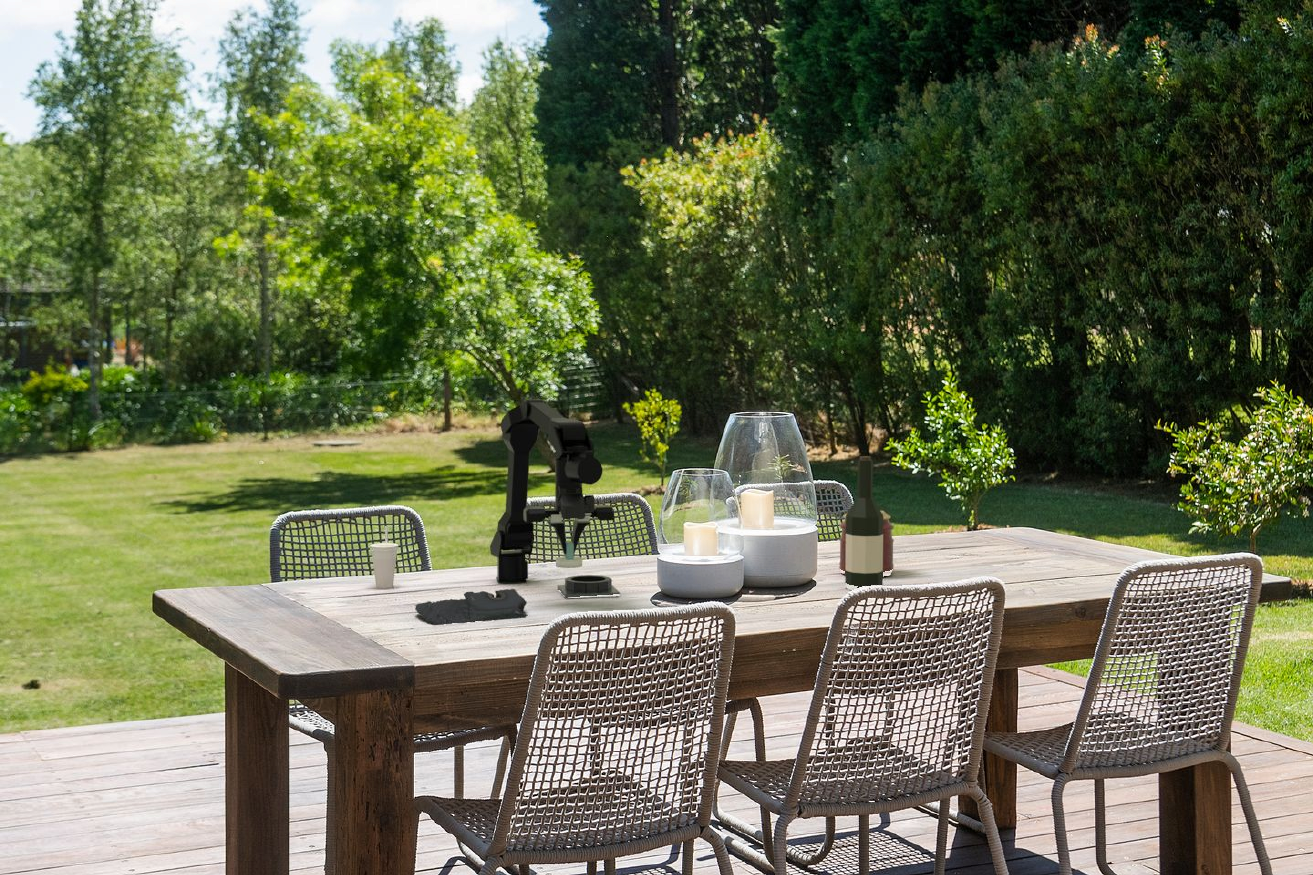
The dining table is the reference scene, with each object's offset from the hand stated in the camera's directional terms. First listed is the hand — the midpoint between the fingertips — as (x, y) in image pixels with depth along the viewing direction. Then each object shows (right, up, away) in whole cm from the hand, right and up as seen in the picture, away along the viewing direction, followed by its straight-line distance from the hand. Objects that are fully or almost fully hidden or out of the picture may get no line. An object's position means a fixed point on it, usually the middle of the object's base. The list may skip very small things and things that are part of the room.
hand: (569, 554), depth 282 cm
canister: (+69, -9, +39) cm, 80 cm away
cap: (0, -3, 0) cm, 2 cm away
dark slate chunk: (-19, -12, -13) cm, 26 cm away
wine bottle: (+66, -10, +19) cm, 69 cm away
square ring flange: (+4, -10, +12) cm, 16 cm away
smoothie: (-43, -9, +19) cm, 48 cm away
